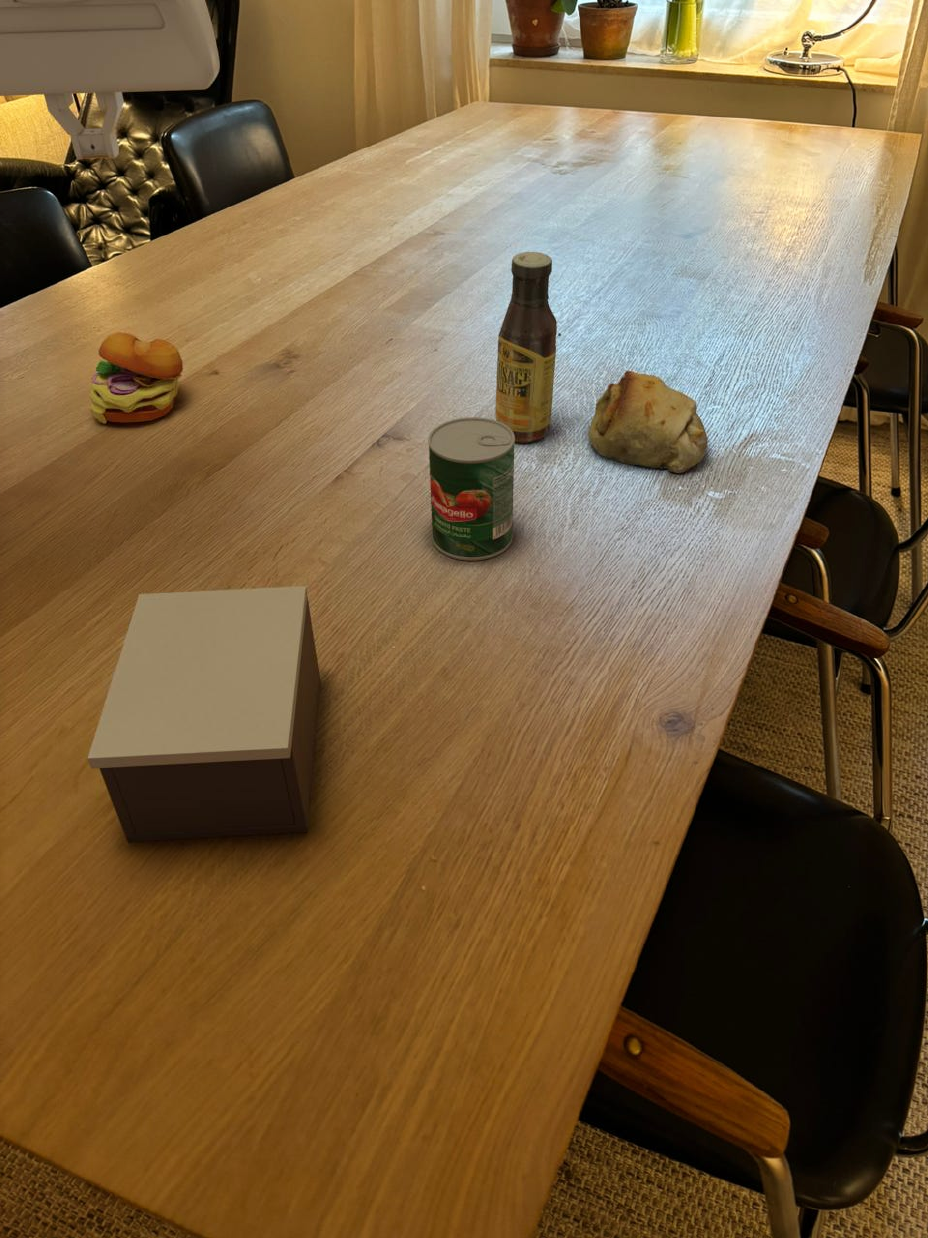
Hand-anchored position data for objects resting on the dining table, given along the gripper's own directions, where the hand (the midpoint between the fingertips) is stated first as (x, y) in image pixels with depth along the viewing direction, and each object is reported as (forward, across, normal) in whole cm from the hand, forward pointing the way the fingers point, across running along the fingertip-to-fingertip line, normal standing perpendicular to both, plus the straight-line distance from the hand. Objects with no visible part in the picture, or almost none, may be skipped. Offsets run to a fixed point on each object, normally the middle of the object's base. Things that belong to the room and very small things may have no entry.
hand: (98, 156), depth 76 cm
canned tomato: (+35, +28, -3) cm, 45 cm away
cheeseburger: (+35, -10, +27) cm, 46 cm away
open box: (+35, +8, -30) cm, 47 cm away
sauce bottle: (+35, +35, +17) cm, 53 cm away
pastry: (+35, +48, +13) cm, 61 cm away
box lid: (+26, +8, -30) cm, 41 cm away
